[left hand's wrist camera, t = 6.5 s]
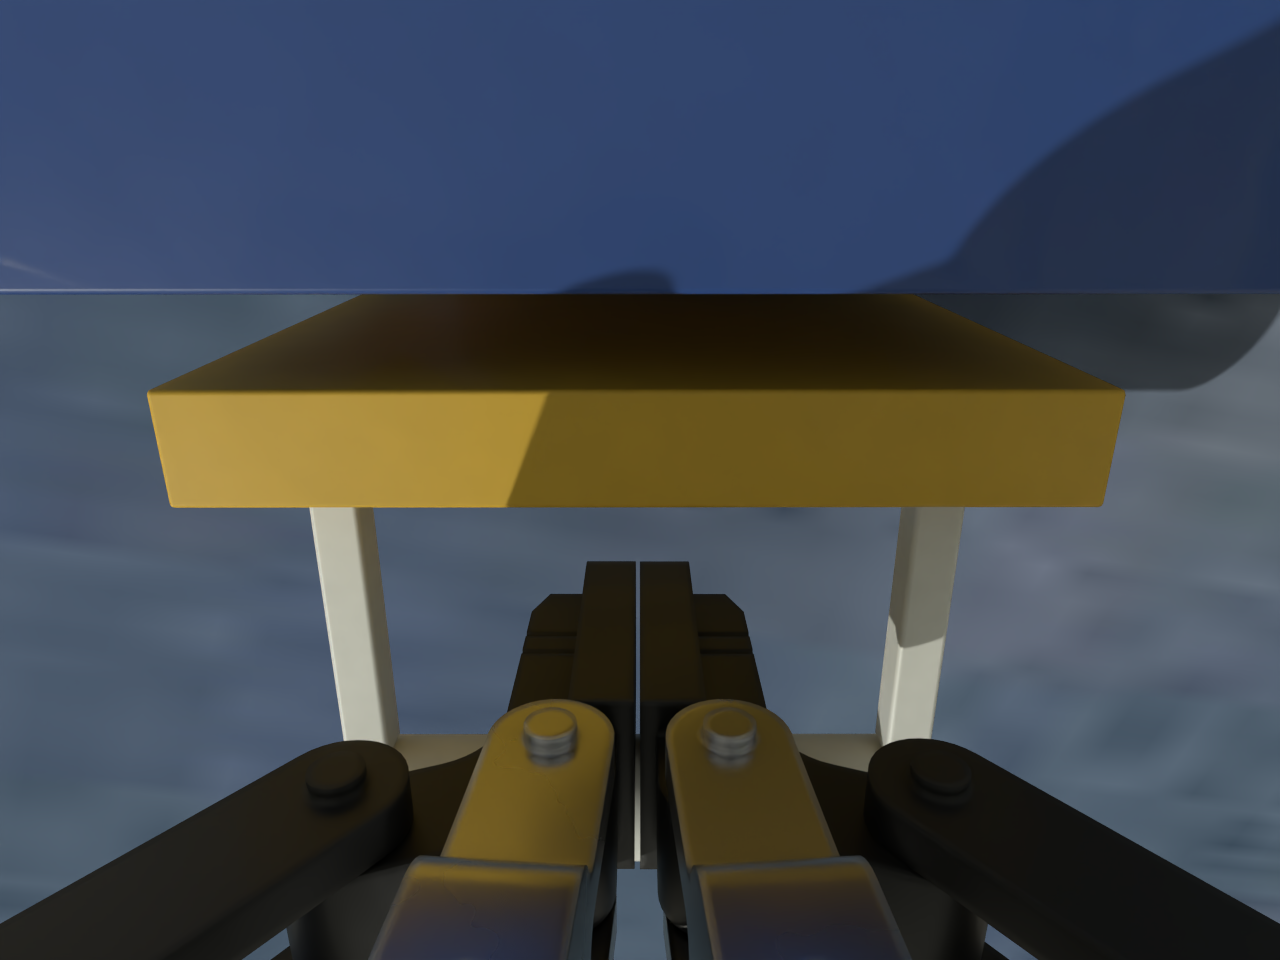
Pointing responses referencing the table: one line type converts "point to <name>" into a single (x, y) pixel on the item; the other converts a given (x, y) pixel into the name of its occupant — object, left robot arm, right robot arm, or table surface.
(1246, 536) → the table surface
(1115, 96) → the cabinet
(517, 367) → the drawer
